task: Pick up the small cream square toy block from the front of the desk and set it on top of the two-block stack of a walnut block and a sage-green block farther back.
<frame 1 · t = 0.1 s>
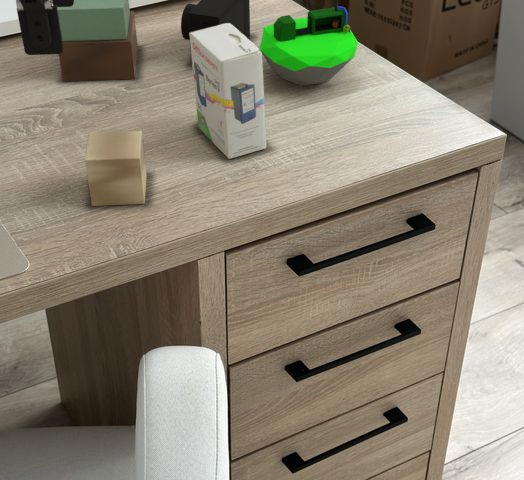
hand: (51, 28, 84), 20 cm above the table, tool pointing down, fingers open, 9 cm apart
ink box: (230, 140, 109), on the table
bottom block: (101, 64, 123), on the table, touching top block
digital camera: (217, 51, 126), on the table
top block: (96, 26, 119), point 5 cm above the table, touching bottom block
toy floating island: (306, 80, 119), on the table
toy block: (119, 190, 101), on the table
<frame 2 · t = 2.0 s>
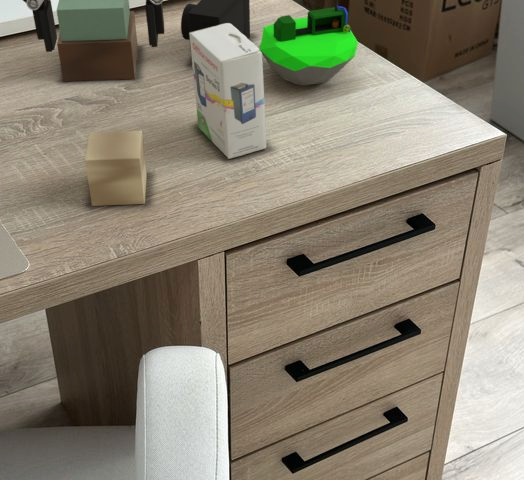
hand: (103, 43, 90), 16 cm above the table, tool pointing down, fingers open, 9 cm apart
nothing on the table moved.
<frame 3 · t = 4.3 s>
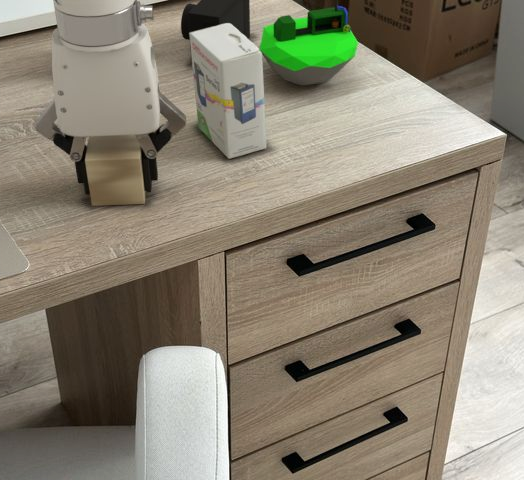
hand: (119, 185, 100), 1 cm above the table, tool pointing down, fingers closed on toy block, 5 cm apart
toy block: (119, 190, 101), on the table, touching gripper
everything else where it was.
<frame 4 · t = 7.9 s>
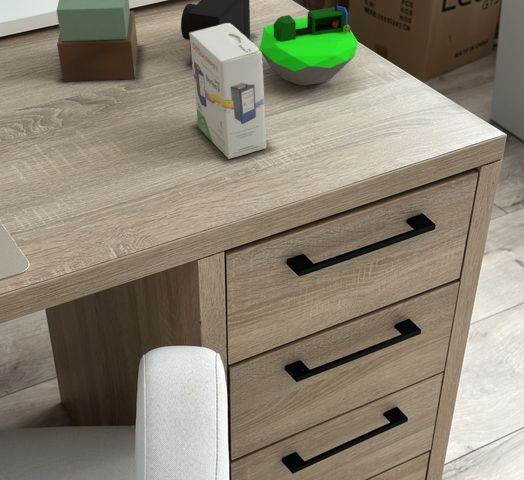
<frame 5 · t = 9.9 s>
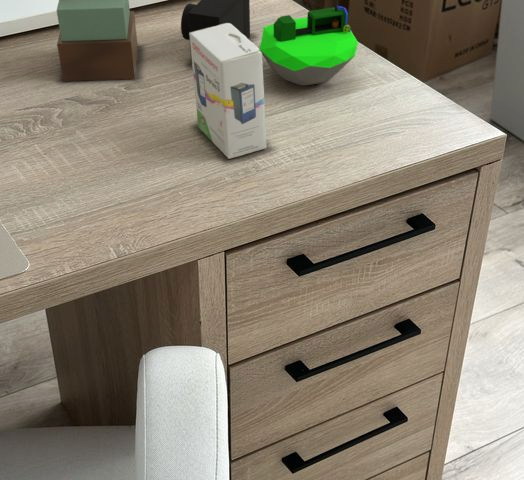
when the fingers open (10 cm above the table, at t = 11.5 s): toy block stays where it is, resting on top block.
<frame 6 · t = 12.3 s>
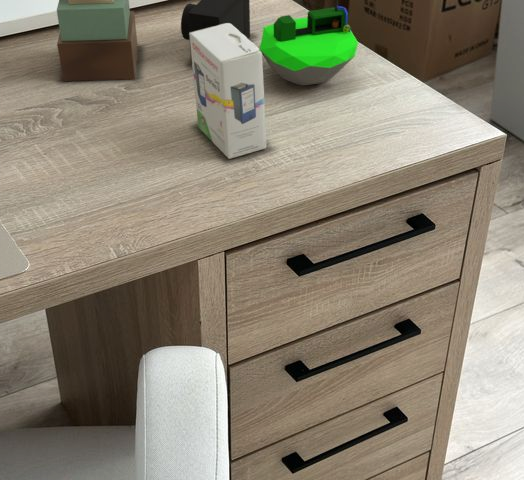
top block: (96, 26, 119), point 5 cm above the table, touching bottom block, toy block
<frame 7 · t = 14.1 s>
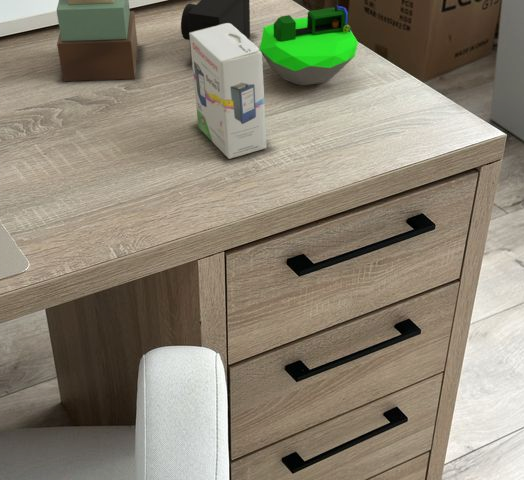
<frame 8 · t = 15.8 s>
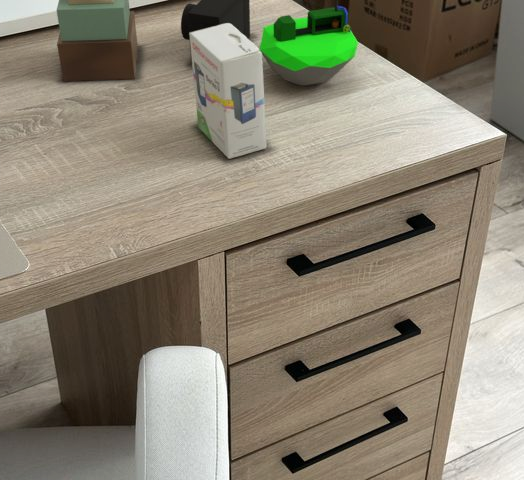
at the end: toy block 0.0 cm off-centre on the top block, point 4.0 cm above the top block's base; toy block tilted 0°; top block 0.0 cm off-centre on the bottom block, point 5.0 cm above the bottom block's base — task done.
